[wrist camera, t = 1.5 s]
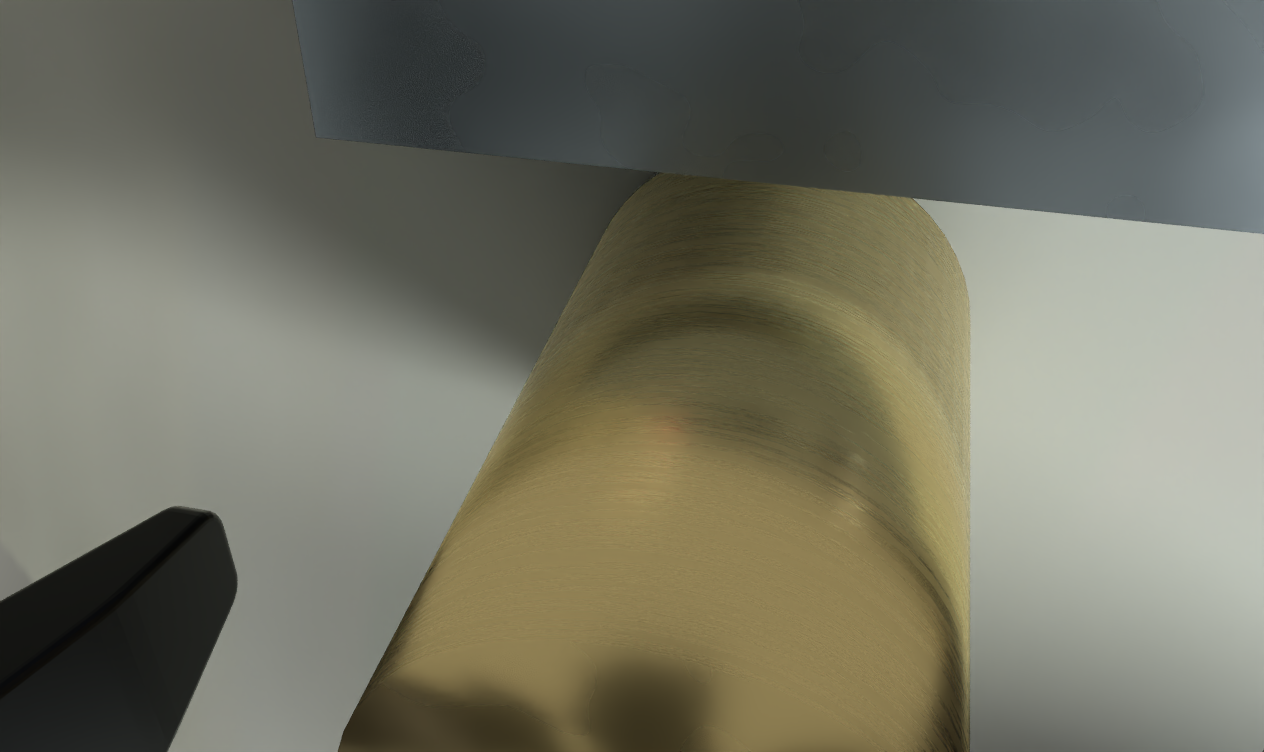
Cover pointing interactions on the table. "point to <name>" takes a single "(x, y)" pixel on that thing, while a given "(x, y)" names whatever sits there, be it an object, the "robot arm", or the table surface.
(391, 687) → the cylinder
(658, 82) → the jig plate
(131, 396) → the table surface
